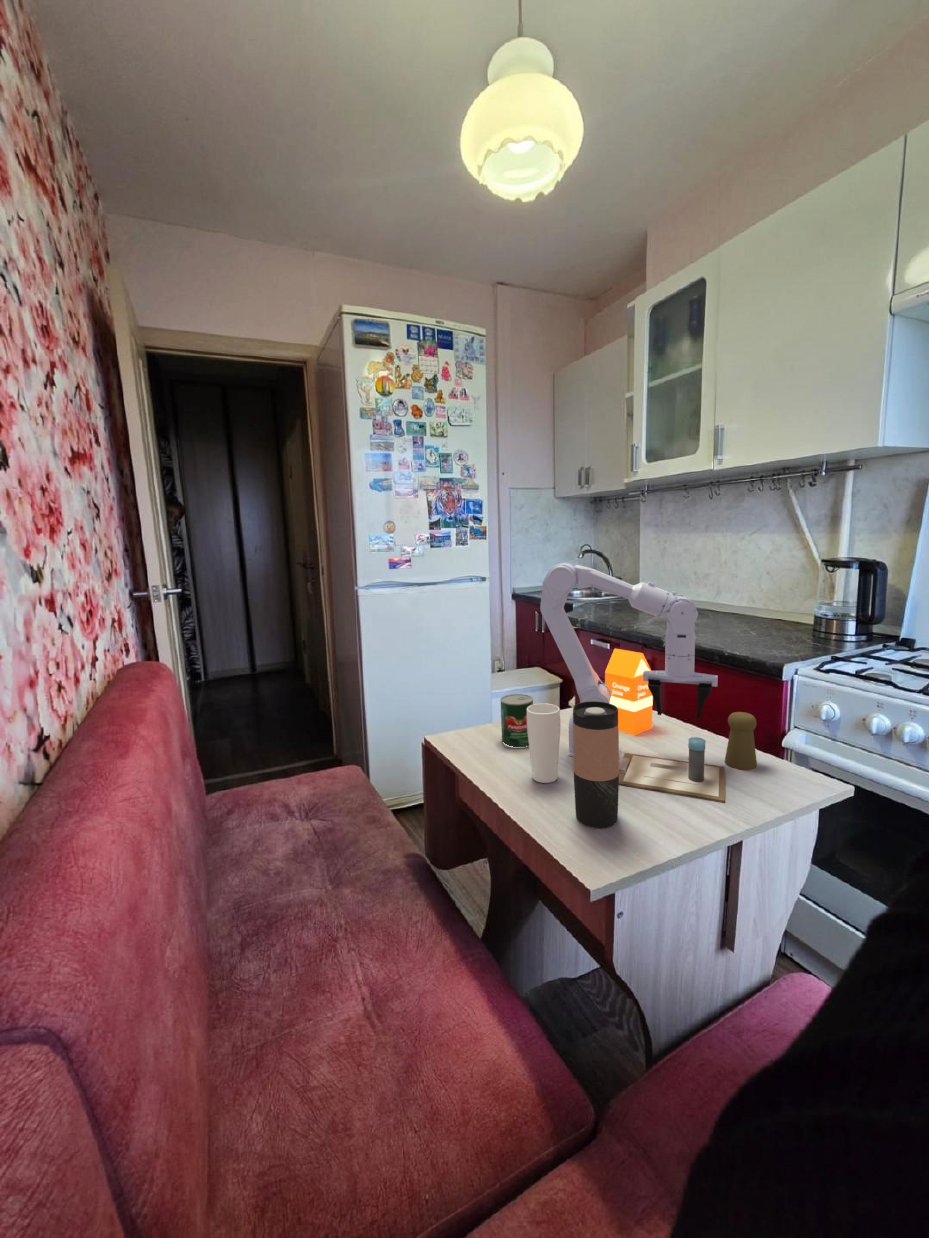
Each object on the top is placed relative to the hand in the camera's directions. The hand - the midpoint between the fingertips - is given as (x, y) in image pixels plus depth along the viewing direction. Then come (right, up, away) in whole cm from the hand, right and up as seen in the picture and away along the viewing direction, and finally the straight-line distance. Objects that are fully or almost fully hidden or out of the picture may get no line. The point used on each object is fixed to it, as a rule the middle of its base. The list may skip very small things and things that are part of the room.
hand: (678, 715), depth 109 cm
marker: (0, -11, -9) cm, 14 cm away
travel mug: (-23, -14, -20) cm, 34 cm away
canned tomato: (-33, -10, +15) cm, 38 cm away
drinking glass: (-29, -12, -4) cm, 32 cm away
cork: (+12, -10, -2) cm, 16 cm away
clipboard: (-4, -11, -6) cm, 13 cm away
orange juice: (-4, -7, +21) cm, 23 cm away
